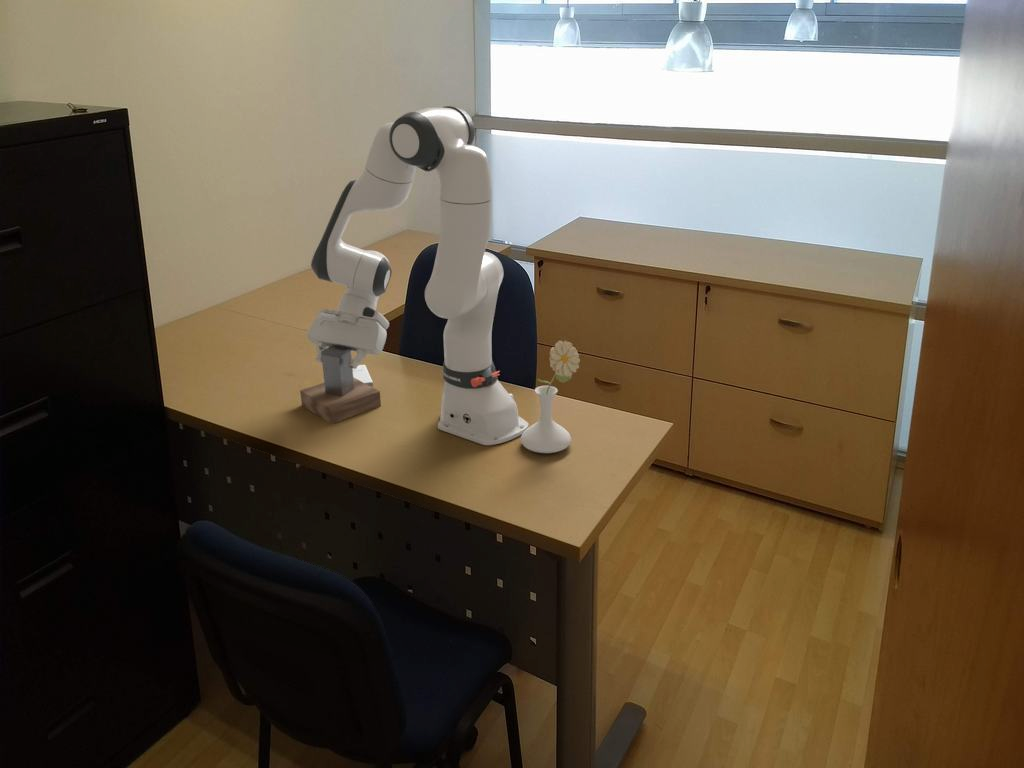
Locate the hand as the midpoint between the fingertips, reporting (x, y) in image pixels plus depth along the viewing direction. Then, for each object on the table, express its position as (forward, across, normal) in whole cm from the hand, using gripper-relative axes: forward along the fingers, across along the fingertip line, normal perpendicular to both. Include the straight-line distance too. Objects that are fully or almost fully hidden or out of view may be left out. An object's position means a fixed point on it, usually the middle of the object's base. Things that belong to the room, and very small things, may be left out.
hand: (335, 364), depth 208 cm
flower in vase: (+7, +55, +10) cm, 56 cm away
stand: (+8, 0, +8) cm, 11 cm away
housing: (+5, 0, +6) cm, 7 cm away
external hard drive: (-3, -6, +20) cm, 21 cm away
